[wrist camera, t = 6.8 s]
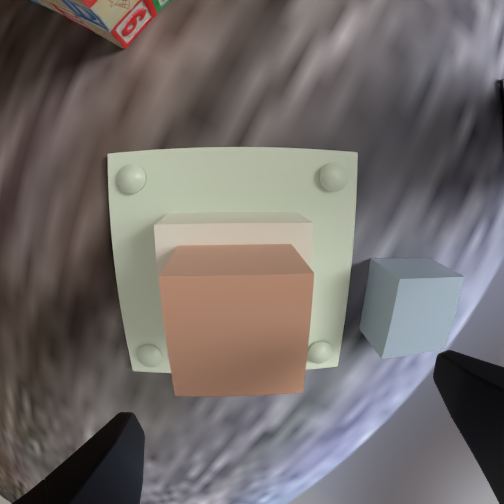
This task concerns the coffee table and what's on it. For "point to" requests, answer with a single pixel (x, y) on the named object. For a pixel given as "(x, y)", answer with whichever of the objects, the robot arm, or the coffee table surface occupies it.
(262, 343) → the brick terracotta
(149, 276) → the baseplate
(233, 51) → the coffee table surface
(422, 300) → the brick blue
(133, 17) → the stack of blocks
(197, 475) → the coffee table surface
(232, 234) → the brick cream
